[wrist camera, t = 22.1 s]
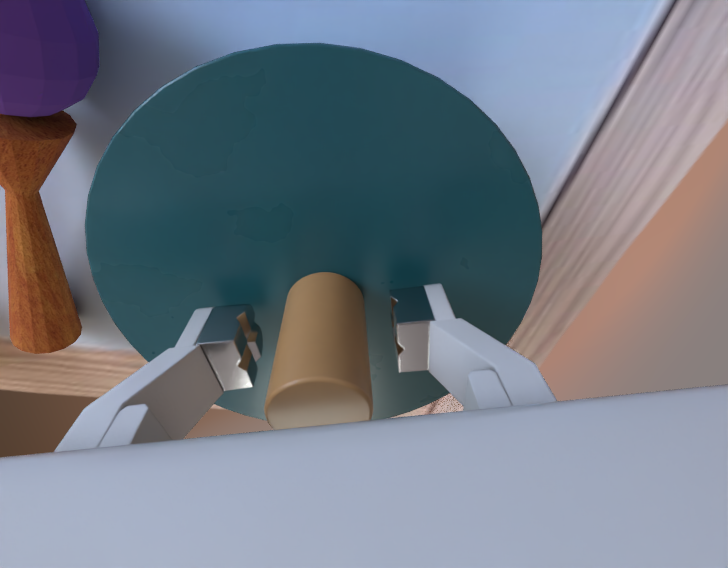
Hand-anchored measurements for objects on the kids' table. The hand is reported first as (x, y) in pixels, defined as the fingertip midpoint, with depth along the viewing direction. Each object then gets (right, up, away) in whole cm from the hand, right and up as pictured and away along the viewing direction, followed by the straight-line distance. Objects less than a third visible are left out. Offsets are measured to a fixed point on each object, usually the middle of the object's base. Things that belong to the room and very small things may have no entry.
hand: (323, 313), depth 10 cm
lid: (0, +1, +1) cm, 1 cm away
